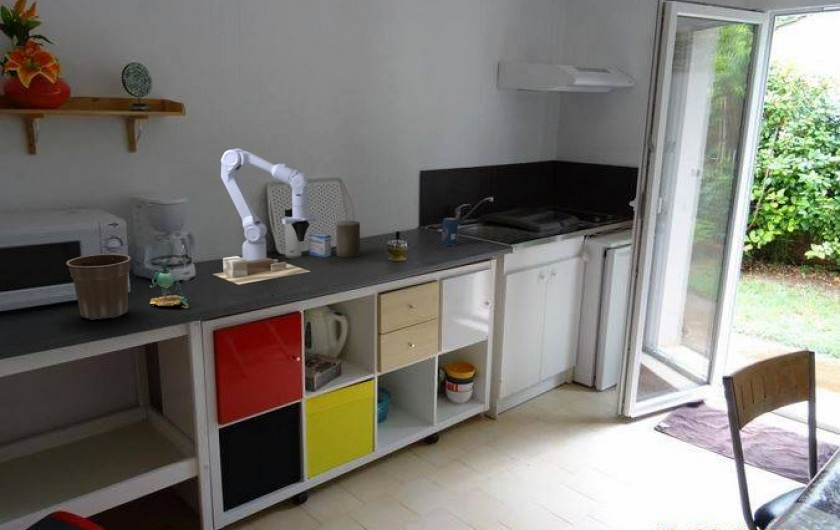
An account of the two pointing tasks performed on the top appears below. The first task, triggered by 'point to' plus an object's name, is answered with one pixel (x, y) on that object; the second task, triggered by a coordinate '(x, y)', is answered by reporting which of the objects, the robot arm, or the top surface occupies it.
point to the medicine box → (319, 245)
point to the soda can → (449, 231)
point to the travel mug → (291, 239)
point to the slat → (259, 265)
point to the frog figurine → (166, 281)
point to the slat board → (238, 273)
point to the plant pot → (101, 284)
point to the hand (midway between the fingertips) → (300, 241)
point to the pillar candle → (348, 239)
